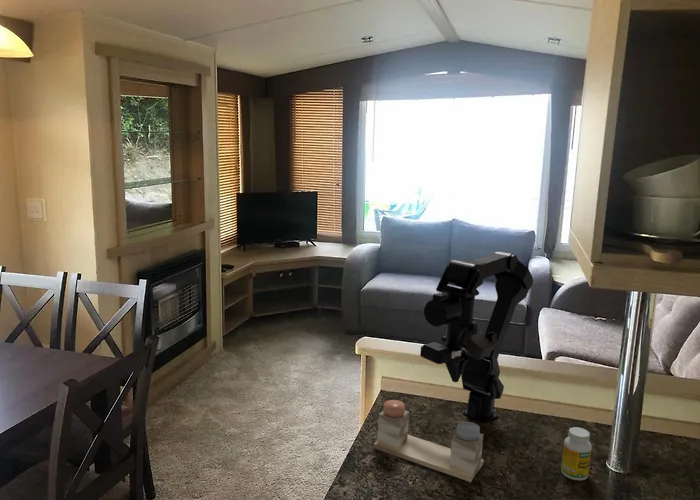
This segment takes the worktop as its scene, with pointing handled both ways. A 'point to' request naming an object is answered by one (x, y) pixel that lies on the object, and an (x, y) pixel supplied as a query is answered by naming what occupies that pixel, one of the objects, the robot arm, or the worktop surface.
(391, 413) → the terracotta key
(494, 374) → the robot arm
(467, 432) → the slate key
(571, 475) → the supplement bottle
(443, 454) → the stand
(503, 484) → the worktop surface
